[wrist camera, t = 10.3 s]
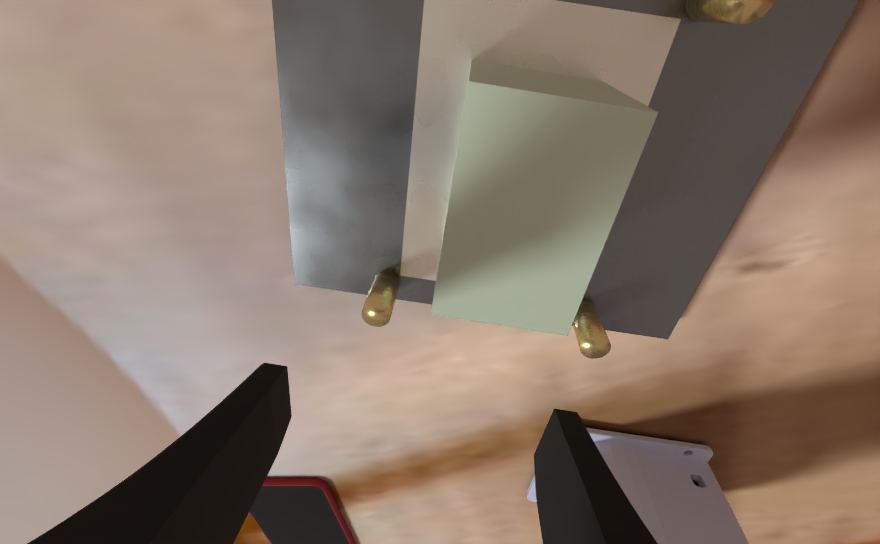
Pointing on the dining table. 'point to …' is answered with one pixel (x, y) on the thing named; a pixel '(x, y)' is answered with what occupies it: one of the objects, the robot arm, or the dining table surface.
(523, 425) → the dining table surface
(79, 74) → the dining table surface
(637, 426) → the dining table surface
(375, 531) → the dining table surface
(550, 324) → the board block
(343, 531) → the smartphone
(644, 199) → the chassis
